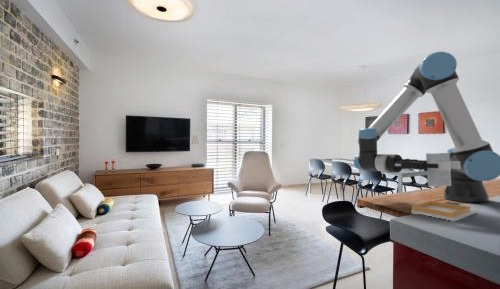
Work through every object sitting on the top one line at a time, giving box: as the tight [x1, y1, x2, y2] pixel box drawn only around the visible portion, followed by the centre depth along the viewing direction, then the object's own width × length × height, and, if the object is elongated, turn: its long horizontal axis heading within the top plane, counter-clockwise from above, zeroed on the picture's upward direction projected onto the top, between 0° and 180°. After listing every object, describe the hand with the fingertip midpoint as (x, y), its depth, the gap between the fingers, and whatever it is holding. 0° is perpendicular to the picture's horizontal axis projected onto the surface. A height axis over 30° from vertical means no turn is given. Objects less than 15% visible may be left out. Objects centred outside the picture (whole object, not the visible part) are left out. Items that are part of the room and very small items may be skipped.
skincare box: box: [425, 152, 451, 188], centre depth 90 cm, size 6×4×12 cm
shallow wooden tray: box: [411, 200, 477, 223], centre depth 90 cm, size 18×13×3 cm
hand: (455, 165), depth 85 cm, fingers closed on skincare box, 7 cm apart
